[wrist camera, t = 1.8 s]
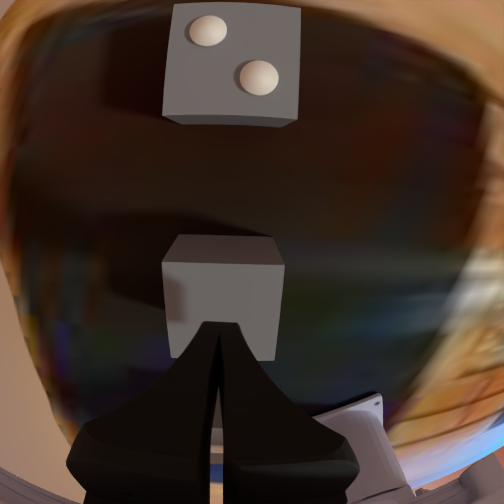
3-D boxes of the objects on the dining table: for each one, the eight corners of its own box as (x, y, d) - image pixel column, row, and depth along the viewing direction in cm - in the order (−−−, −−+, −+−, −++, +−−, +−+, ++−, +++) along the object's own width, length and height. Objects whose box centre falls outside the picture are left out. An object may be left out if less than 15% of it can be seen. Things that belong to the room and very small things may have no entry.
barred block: (254, 425, 21) (258, 466, 17) (193, 423, 21) (189, 464, 17) (259, 385, 19) (264, 431, 15) (188, 382, 19) (182, 428, 15)
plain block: (266, 317, 17) (274, 360, 14) (182, 315, 17) (171, 357, 13) (272, 236, 16) (284, 265, 12) (178, 234, 15) (161, 261, 12)
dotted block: (280, 127, 14) (298, 118, 10) (181, 124, 13) (161, 114, 9) (284, 40, 12) (301, 6, 8) (188, 36, 12) (173, 2, 8)
